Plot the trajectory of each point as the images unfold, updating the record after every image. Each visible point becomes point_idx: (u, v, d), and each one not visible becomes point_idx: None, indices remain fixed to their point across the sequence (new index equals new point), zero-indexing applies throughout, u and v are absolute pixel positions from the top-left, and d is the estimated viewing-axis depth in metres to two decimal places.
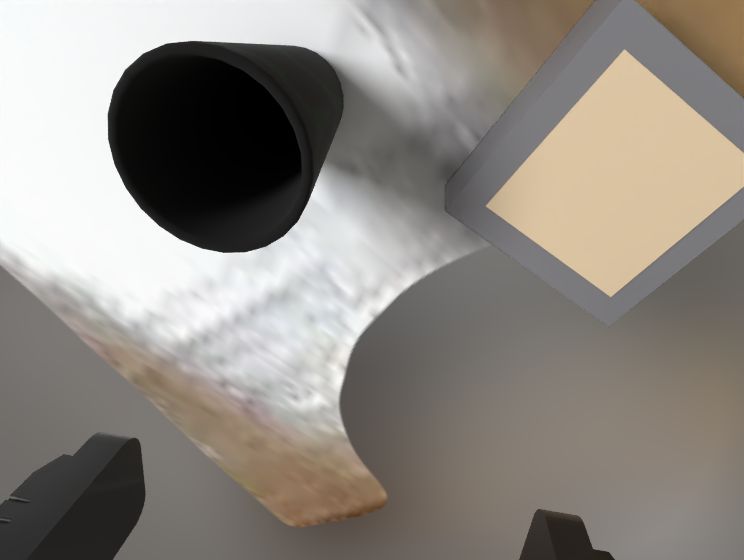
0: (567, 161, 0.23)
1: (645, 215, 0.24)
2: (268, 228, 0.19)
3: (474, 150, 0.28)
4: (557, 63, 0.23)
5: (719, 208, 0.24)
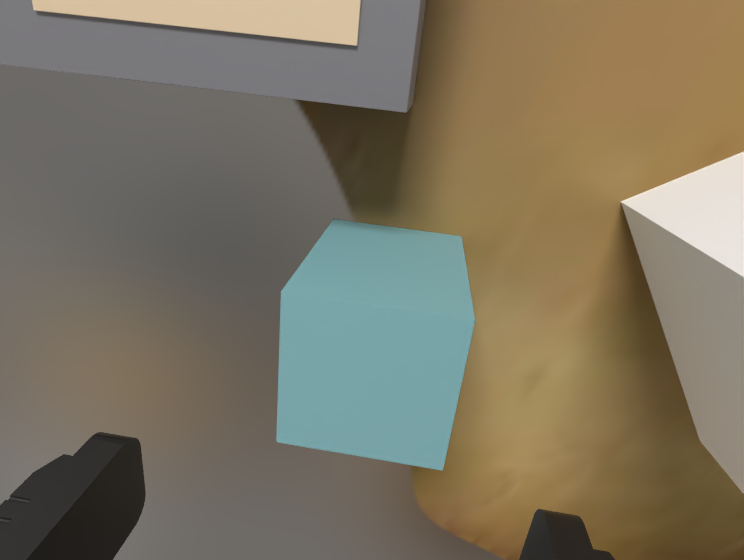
0: None
1: None
2: None
3: None
4: None
5: (270, 41, 0.13)
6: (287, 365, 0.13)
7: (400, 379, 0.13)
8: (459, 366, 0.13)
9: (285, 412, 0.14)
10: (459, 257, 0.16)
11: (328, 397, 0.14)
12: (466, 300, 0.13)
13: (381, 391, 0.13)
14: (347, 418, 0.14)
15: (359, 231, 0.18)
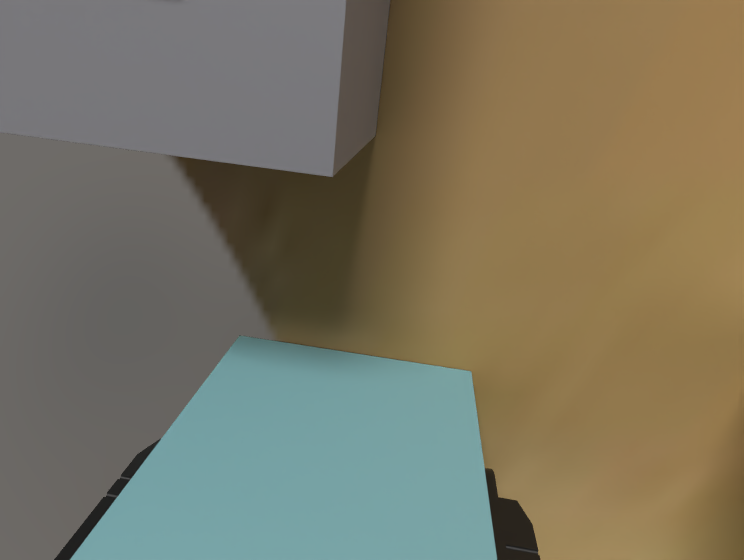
0: None
1: None
2: None
3: None
4: None
5: None
6: None
7: None
8: None
9: None
10: (471, 453, 0.08)
11: None
12: None
13: None
14: None
15: (277, 374, 0.09)
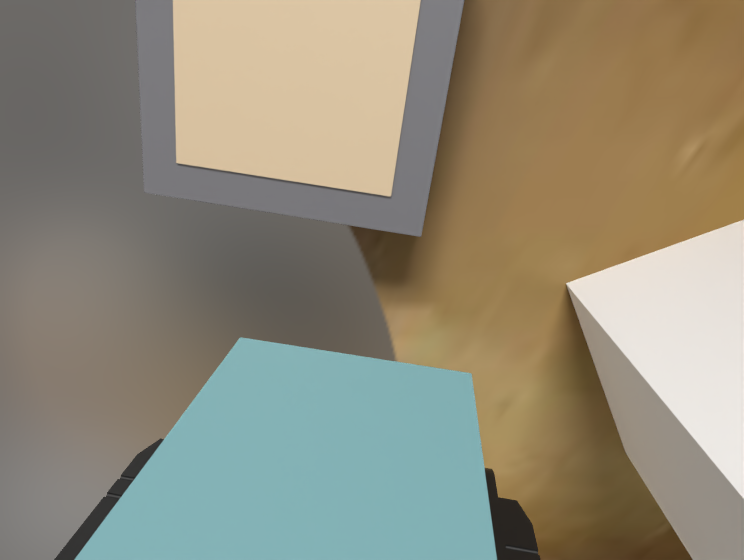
0: None
1: (283, 119, 0.19)
2: None
3: None
4: None
5: (334, 190, 0.20)
6: None
7: None
8: None
9: None
10: (471, 456, 0.08)
11: None
12: None
13: None
14: None
15: (278, 376, 0.09)
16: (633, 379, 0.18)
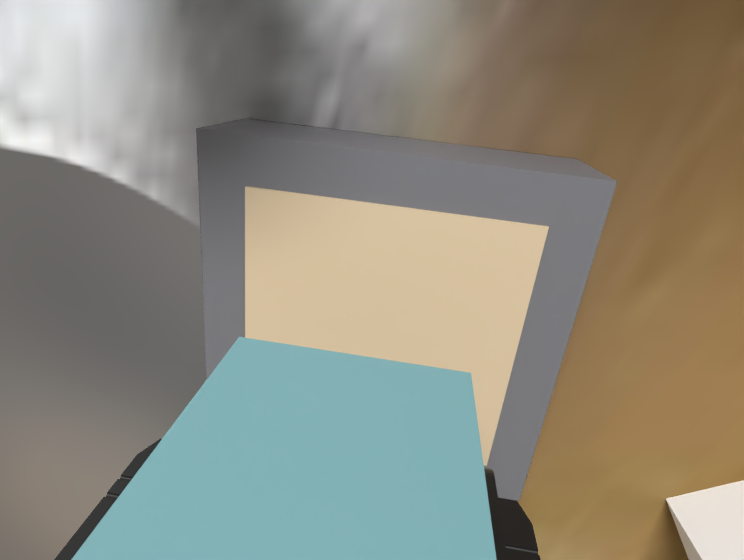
0: (374, 256, 0.15)
1: None
2: None
3: (316, 127, 0.17)
4: (485, 156, 0.15)
5: None
6: None
7: None
8: None
9: None
10: (470, 455, 0.08)
11: None
12: None
13: None
14: None
15: (277, 375, 0.09)
16: None
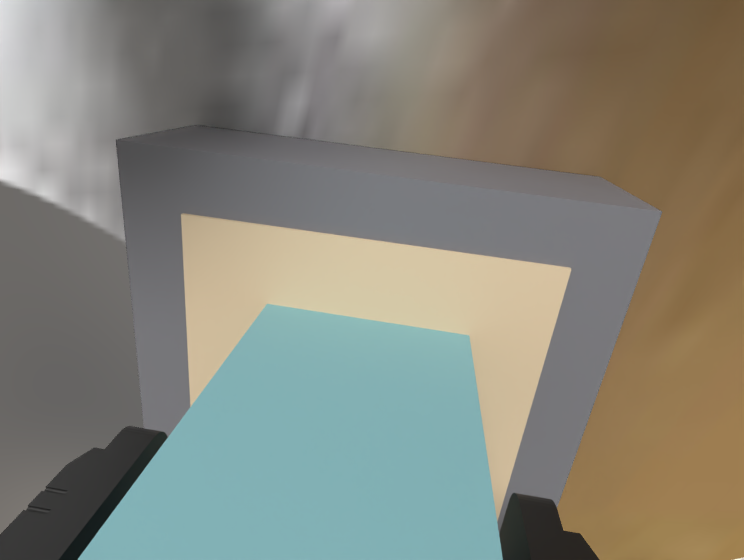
0: (348, 301, 0.12)
1: None
2: None
3: (281, 137, 0.14)
4: (488, 175, 0.12)
5: None
6: None
7: None
8: None
9: None
10: (468, 395, 0.09)
11: None
12: (490, 555, 0.06)
13: None
14: None
15: (302, 333, 0.11)
16: None
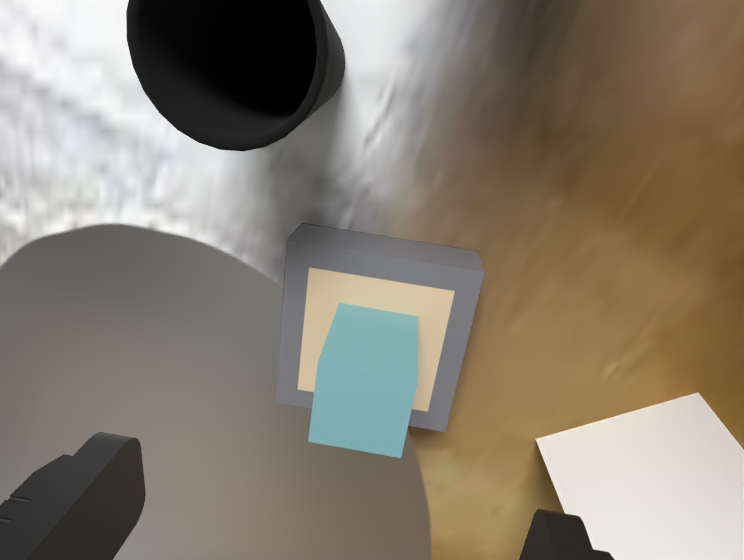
0: (371, 302, 0.30)
1: None
2: (194, 122, 0.20)
3: (340, 230, 0.32)
4: (427, 254, 0.30)
5: None
6: (317, 399, 0.24)
7: (378, 408, 0.24)
8: (410, 401, 0.24)
9: (314, 425, 0.25)
10: (414, 334, 0.28)
11: (339, 417, 0.25)
12: (415, 366, 0.24)
13: (368, 414, 0.24)
14: (349, 428, 0.25)
15: (355, 313, 0.29)
16: None
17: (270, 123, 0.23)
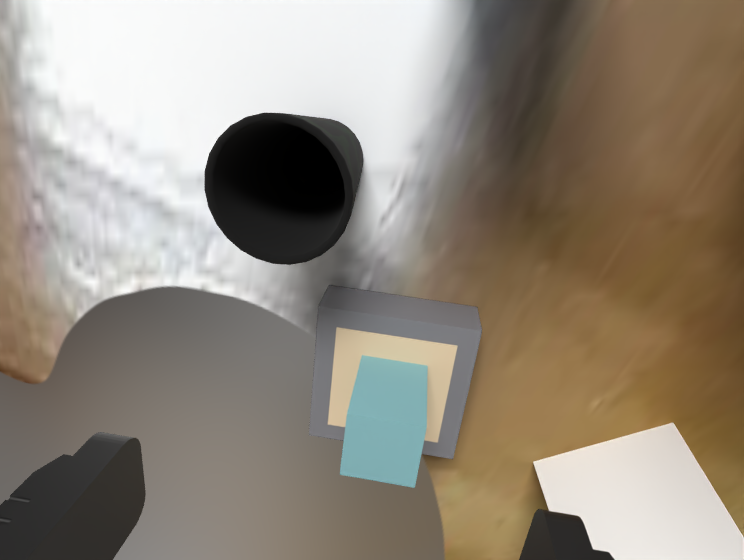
0: (388, 354, 0.36)
1: None
2: (252, 242, 0.26)
3: (361, 291, 0.39)
4: (434, 313, 0.36)
5: None
6: (347, 442, 0.31)
7: (396, 449, 0.30)
8: (421, 444, 0.30)
9: (344, 461, 0.31)
10: (424, 384, 0.34)
11: (364, 455, 0.31)
12: (424, 415, 0.31)
13: (387, 453, 0.31)
14: (372, 464, 0.31)
15: (375, 365, 0.35)
16: None
17: (306, 228, 0.29)
